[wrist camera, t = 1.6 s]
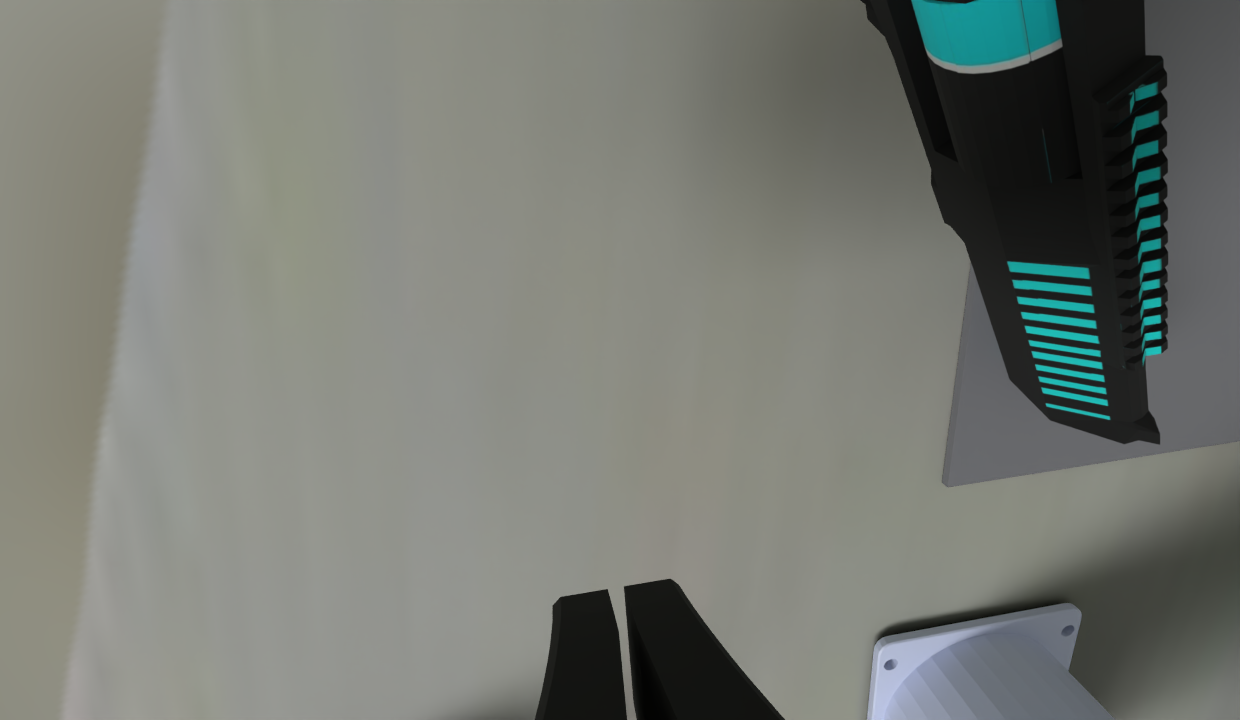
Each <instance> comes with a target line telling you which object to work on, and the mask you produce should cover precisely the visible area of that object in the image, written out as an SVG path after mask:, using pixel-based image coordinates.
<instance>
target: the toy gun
mask: <svg viewBox="0 0 1240 720" xmlns="http://www.w3.org/2000/svg"><path fill="white" fill-rule="evenodd" d="M861 1H862V2H863V3H864V4H866V10H867V18H868V20H869V21H870V22H871V23H872V24H873V25H874V26H875V27H876V28H877V29H878V30H879V31H880V32H881V33H882V34H883V35H884V36H885V38H886V40H887V43H888V45H889V48H890V50H891V52H892V55H893V57H894V60H895V63H896V66H897V69H898V72H899V75H900V78H901V81H902V84H903V87H904V90H905V93H906V96H907V99H908V102H909V105H910V108H911V110H912V113H913V116H914V119H915V122H916V125H917V128H918V131H919V134H920V137H921V140H922V143H923V146H924V149H925V152H926V155H927V158H928V161H929V163H930V166H931V185H932V188H933V191H934V194H935V197H936V199H937V202H938V205H939V208H940V211H941V214H942V217H943V220H944V222H945V223H946V224H948V225H949V226H951V227H952V228H953V230H954V231H955V232H956V233H957V234H958V236H959V237H960V238H961V239H962V240H963V242H964V243H965V245H966V248H967V251H968V254H969V257H970V261H971V264H972V267H973V270H974V273H975V276H976V279H977V282H978V285H979V288H980V291H981V294H982V297H983V300H984V303H985V306H986V309H987V312H988V315H989V318H990V322H991V325H992V328H993V331H994V334H995V337H996V340H997V343H998V346H999V349H1000V352H1001V355H1002V358H1003V361H1004V364H1005V367H1006V370H1007V373H1008V376H1009V380H1010V381H1011V382H1012V383H1013V384H1014V385H1015V386H1016V387H1017V388H1018V389H1019V390H1020V391H1021V392H1022V393H1023V394H1024V395H1025V396H1026V397H1027V398H1028V399H1029V400H1030V401H1031V402H1032V403H1033V404H1034V405H1035V406H1036V407H1037V408H1038V409H1039V410H1040V411H1041V412H1042V413H1043V414H1044V415H1045V416H1046V417H1047V418H1048V419H1049V420H1050V421H1053V422H1056V423H1059V424H1062V425H1066V426H1069V427H1072V428H1075V429H1078V430H1081V431H1084V432H1087V433H1091V434H1094V435H1097V436H1100V437H1103V438H1106V439H1109V440H1112V441H1116V442H1119V443H1122V444H1127V443H1131V442H1135V441H1138V440H1139V441H1144V442H1149V443H1154V444H1159V445H1160V432H1159V429H1158V427H1157V424H1156V421H1155V418H1154V417H1153V416H1152V414H1151V413H1150V411H1149V410H1148V394H1147V379H1146V359H1145V357H1146V356H1149V355H1156V354H1162V353H1163V352H1164V351H1165V350H1166V349H1168V340H1167V338H1166V336H1165V335H1167V334H1168V325H1167V323H1166V321H1165V319H1166V318H1168V308H1167V306H1166V304H1165V303H1166V302H1167V301H1168V291H1167V289H1166V287H1165V285H1164V284H1165V283H1166V282H1168V272H1167V270H1166V269H1165V267H1166V266H1167V265H1168V251H1167V249H1166V247H1165V245H1166V244H1167V243H1168V231H1167V229H1166V228H1165V226H1164V223H1165V222H1166V221H1167V220H1168V208H1167V206H1166V204H1165V202H1164V201H1163V200H1164V199H1166V198H1167V197H1168V188H1167V184H1166V182H1165V180H1164V178H1163V176H1165V175H1166V174H1167V173H1168V159H1167V157H1166V156H1165V154H1164V152H1163V151H1162V150H1163V149H1164V148H1165V147H1166V146H1167V131H1166V129H1165V128H1164V126H1163V124H1162V121H1163V120H1164V119H1165V118H1166V117H1168V102H1167V100H1166V99H1165V97H1164V96H1163V94H1162V93H1161V91H1162V90H1163V89H1164V88H1166V87H1167V72H1166V71H1165V69H1164V59H1163V58H1162V56H1161V55H1146V51H1145V6H1144V0H861Z"/></svg>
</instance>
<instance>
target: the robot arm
mask: <svg viewBox="0 0 1240 720" xmlns="http://www.w3.org/2000/svg"><path fill="white" fill-rule="evenodd" d="M624 592H625V604H626V616H627V628H628V640H629V652H630V664H631V676H632V688H633V700H634V707H635V712H636V718H637V720H785V719H784V718H783V717H782V716H781V715H780V714H779V712H778V711H777V710H776V709H775V708H774V707H773V705H772V704H771V703H770V702H769V701H768V700H767V699H766V697H765V696H764V695H763V694H762V693H761V692H760V690H759V689H758V688H757V687H756V686H755V685H754V684H753V682H752V681H751V680H750V679H749V678H748V677H747V675H746V674H745V673H744V672H743V671H742V669H741V668H740V667H739V666H738V665H737V663H736V662H735V661H734V660H733V658H732V657H731V656H730V655H729V653H728V652H727V651H726V650H725V648H724V647H723V646H722V644H721V643H720V642H719V641H718V639H717V638H716V637H715V636H714V634H713V633H712V632H711V630H710V629H709V628H708V626H707V625H706V624H705V622H704V621H703V620H702V618H701V617H700V615H699V614H698V613H697V611H696V610H695V608H694V607H693V606H692V604H691V603H690V601H689V600H688V598H687V597H686V595H685V594H684V592H683V591H682V589H681V588H680V586H679V585H678V584H677V583H676V582H674V581H673V580H671V579H666V580H660V581H654V582H648V583H642V584H636V585H630V586H624ZM1081 618H1082V613H1081V611H1080V610H1079V609H1078V608H1077V607H1076V606H1075V605H1073V604H1071V603H1062V604H1057V605H1052V606H1046V607H1041V608H1035V609H1030V610H1025V611H1019V612H1014V613H1008V614H1003V615H998V616H992V617H987V618H982V619H976V620H971V621H965V622H960V623H955V624H949V625H944V626H938V627H933V628H928V629H922V630H917V631H911V632H906V633H901V634H895V635H890V636H886V637H883V638H881V639H880V640H878V642H877V643H876V644H875V647H874V653H873V663H872V673H871V684H870V694H869V704H868V714H867V720H1115V719H1114V718H1113V717H1112V716H1111V715H1110V714H1109V713H1108V712H1107V711H1106V710H1105V708H1104V707H1103V706H1102V705H1101V704H1100V703H1099V702H1098V701H1097V700H1096V699H1095V698H1094V697H1093V696H1092V695H1091V694H1090V693H1089V692H1088V691H1087V690H1086V689H1085V688H1084V687H1083V686H1082V685H1081V684H1080V683H1079V682H1078V681H1077V680H1076V679H1075V678H1074V677H1073V676H1072V675H1071V674H1070V673H1069V672H1068V671H1069V667H1070V663H1071V659H1072V655H1073V650H1074V646H1075V642H1076V638H1077V634H1078V630H1079V626H1080V622H1081ZM535 720H627V715H626V704H625V694H624V683H623V672H622V662H621V651H620V640H619V631H618V627H617V623H616V619H615V615H614V611H613V607H612V604H611V600H610V596H609V593H608V589H606V590H600V591H594V592H588V593H582V594H576V595H570V596H564V597H560V598H559V599H558V600H557V602H556V603H555V604H554V605H553V622H552V634H551V643H550V650H549V656H548V662H547V668H546V673H545V678H544V683H543V688H542V693H541V697H540V701H539V705H538V709H537V713H536V718H535Z"/></svg>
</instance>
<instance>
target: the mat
mask: <svg viewBox="0 0 1240 720" xmlns="http://www.w3.org/2000/svg"><path fill="white" fill-rule="evenodd" d="M1144 6H1145V51H1146V55H1161V56H1162V58H1163V59H1164V69H1165V71H1166V72H1167V87H1166V88H1164V89H1163V90H1162V91H1161V93H1162V94H1163V96H1164V97H1165V99H1166V100H1167V102H1168V117H1166V118H1165V119H1164V120H1163V121H1162V124H1163V126H1164V128H1165V129H1166V131H1167V146H1166V147H1165V148H1164V149H1163V150H1162V151H1163V152H1164V154H1165V156H1166V157H1167V159H1168V173H1167V174H1166V175H1165V176H1163V178H1164V180H1165V182H1166V184H1167V188H1168V197H1167V198H1166V199H1164V200H1163V201H1164V202H1165V204H1166V206H1167V208H1168V220H1167V221H1166V222H1165V223H1164V226H1165V228H1166V229H1167V231H1168V243H1167V244H1166V245H1165V247H1166V249H1167V251H1168V265H1167V266H1166V267H1165V269H1166V270H1167V272H1168V282H1166V283H1165V284H1164V285H1165V287H1166V289H1167V291H1168V301H1167V302H1166V303H1165V304H1166V306H1167V308H1168V318H1166V319H1165V321H1166V323H1167V325H1168V334H1167V335H1165V336H1166V338H1167V340H1168V349H1166V350H1165V351H1164V352H1163V353H1162V354H1156V355H1149V356H1146V357H1145V359H1146V379H1147V394H1148V410H1149V411H1150V413H1151V414H1152V416H1153V417H1154V418H1155V421H1156V424H1157V427H1158V429H1159V432H1160V445H1159V444H1154V443H1149V442H1144V441H1139V440H1138V441H1135V442H1131V443H1127V444H1122V443H1119V442H1116V441H1112V440H1109V439H1106V438H1103V437H1100V436H1097V435H1094V434H1091V433H1087V432H1084V431H1081V430H1078V429H1075V428H1072V427H1069V426H1066V425H1062V424H1059V423H1056V422H1053V421H1050V420H1049V419H1048V418H1047V417H1046V416H1045V415H1044V414H1043V413H1042V412H1041V411H1040V410H1039V409H1038V408H1037V407H1036V406H1035V405H1034V404H1033V403H1032V402H1031V401H1030V400H1029V399H1028V398H1027V397H1026V396H1025V395H1024V394H1023V393H1022V392H1021V391H1020V390H1019V389H1018V388H1017V387H1016V386H1015V385H1014V384H1013V383H1012V382H1011V381H1010V380H1009V376H1008V373H1007V370H1006V367H1005V364H1004V361H1003V358H1002V355H1001V352H1000V349H999V346H998V343H997V340H996V337H995V334H994V331H993V328H992V325H991V322H990V318H989V315H988V312H987V309H986V306H985V303H984V300H983V297H982V294H981V291H980V288H979V285H978V282H977V279H976V276H975V273H974V270H973V267H972V264H971V267H970V274H969V282H968V289H967V297H966V304H965V312H964V320H963V327H962V335H961V342H960V350H959V357H958V365H957V372H956V380H955V387H954V395H953V403H952V410H951V418H950V425H949V433H948V440H947V448H946V455H945V463H944V470H943V478H942V483H943V484H944V485H945V486H947V487H953V486H959V485H965V484H972V483H978V482H984V481H991V480H997V479H1003V478H1010V477H1016V476H1022V475H1029V474H1035V473H1041V472H1047V471H1054V470H1060V469H1066V468H1073V467H1079V466H1085V465H1092V464H1098V463H1104V462H1111V461H1117V460H1123V459H1130V458H1136V457H1142V456H1148V455H1155V454H1161V453H1167V452H1174V451H1180V450H1186V449H1193V448H1199V447H1205V446H1212V445H1218V444H1224V443H1231V442H1237V441H1240V0H1144Z"/></svg>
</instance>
